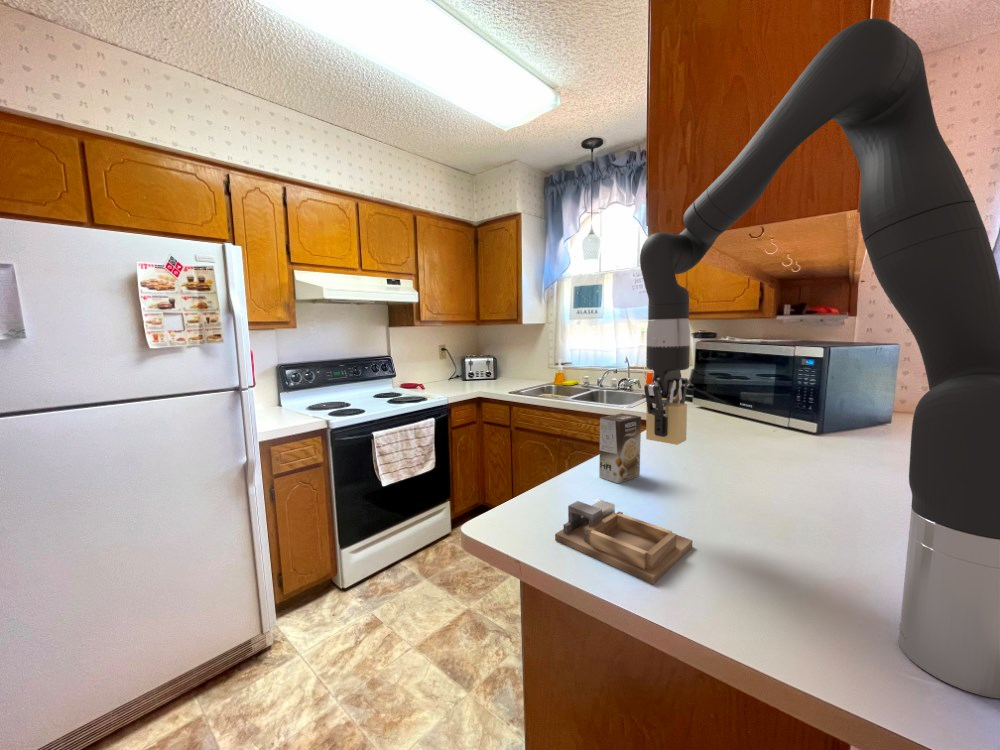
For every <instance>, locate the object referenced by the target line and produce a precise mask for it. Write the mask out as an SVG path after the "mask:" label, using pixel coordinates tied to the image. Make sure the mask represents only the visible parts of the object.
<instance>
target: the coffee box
mask: <svg viewBox="0 0 1000 750" xmlns="http://www.w3.org/2000/svg"><path fill="white" fill-rule="evenodd" d="M641 430H642V416H639V415H635V414H629V413H624V412H623V413H617V414H611V415H607V416H601V417H599V469H598V471H599V475H598V476H599V478H601V479H603V480H607V481H609V482H612V483H615V484H620V483H623V482H627V481H629V480H632V479H635V478H637V477H640V473H641V441H642V440H641V437H642V436H641V435H642V434H641V433H642V431H641Z"/></svg>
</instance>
